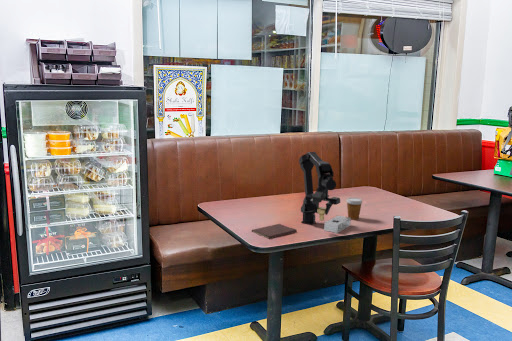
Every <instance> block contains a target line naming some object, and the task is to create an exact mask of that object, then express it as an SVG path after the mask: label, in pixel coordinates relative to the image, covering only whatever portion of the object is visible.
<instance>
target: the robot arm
mask: <svg viewBox="0 0 512 341" xmlns="http://www.w3.org/2000/svg"><path fill="white" fill-rule="evenodd" d="M298 163H299V166H300V169H301V170H302V172H303V182H304V194H305V195H304V198H303V200H302V205H301V207H300V212H301V213H302V221H301V222H300V223H302V224H307V225H312V224H314V223H316V214H318V213H317V208H318V207H320V203H322V201H324V202H327V203H325V208H326V214H325V216H328V214H329V212H330V210H331V208H332V206H333V205H334V206H335V205H339V204H341V198H340V197H336V196H333V197H330V195H329V191H333V190H335V189H336V187H337V182H336V181H335V180H334V177H335V176H334V170H333V168H332V165H331V164H330V162H328V161H324V160H322V158H320V156H319V155H318V154H317V152H315V151H308V152H306V153H305V154H302V155H301V156H300V157H299V159H298ZM314 167H315V171H316V173H317V175H316V176H317V177H318V178H317V188H316V189H315V192H314V184H313V183H314V182H313V174H312V172H313V171H312V170H313V169H314Z"/></svg>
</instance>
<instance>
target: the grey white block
mask: <svg viewBox="0 0 512 341" xmlns="http://www.w3.org/2000/svg"><path fill="white" fill-rule="evenodd" d="M351 223H352V221H351V218H349V217H348V216H344V215H336V216H334V217H332V218H330V219H329V220H327V221H325V222H324V223H323V224H324V226H323V231H326V232H332V233H335V234H338V233H340V232H342V231H343V230H345V229H346V228H348V227H350V226H351Z"/></svg>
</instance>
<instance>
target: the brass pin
mask: <svg viewBox="0 0 512 341" xmlns="http://www.w3.org/2000/svg"><path fill="white" fill-rule="evenodd" d="M316 214H319V215H318V219H319V220H318V221H321V222H322V221H325V215H326V207H323V206H319V207H318V208H317V213H316Z"/></svg>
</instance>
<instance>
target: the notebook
mask: <svg viewBox="0 0 512 341" xmlns="http://www.w3.org/2000/svg"><path fill="white" fill-rule="evenodd" d="M251 232H252V233H254V234H257V235H259V236H261V237H263V236H264V238H267V239H273V238H278V237H282V236H286V235H287V236H288V235H290V234H295V233H297V229H296V228H293V227H290V226H286V225H283V224H281V223H278V224H272V225H267V226H264V227H259V228H255V229H251Z"/></svg>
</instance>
